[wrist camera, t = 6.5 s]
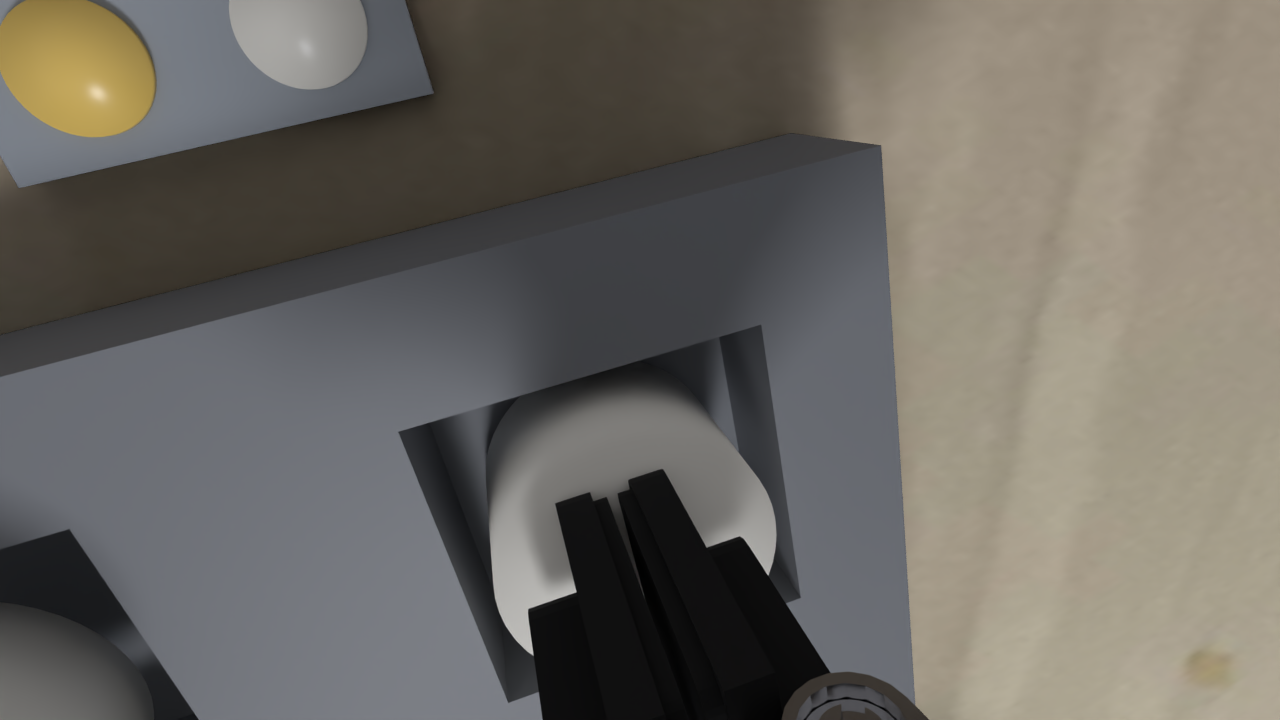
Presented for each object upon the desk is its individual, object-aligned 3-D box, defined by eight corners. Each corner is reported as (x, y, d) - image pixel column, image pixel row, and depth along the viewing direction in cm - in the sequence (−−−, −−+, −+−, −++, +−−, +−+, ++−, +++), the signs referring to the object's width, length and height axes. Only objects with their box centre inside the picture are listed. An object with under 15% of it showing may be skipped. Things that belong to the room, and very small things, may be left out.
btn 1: (692, 329, 13) (756, 396, 10) (728, 522, 14) (791, 623, 12) (453, 399, 12) (452, 491, 9) (523, 591, 14) (537, 715, 11)
